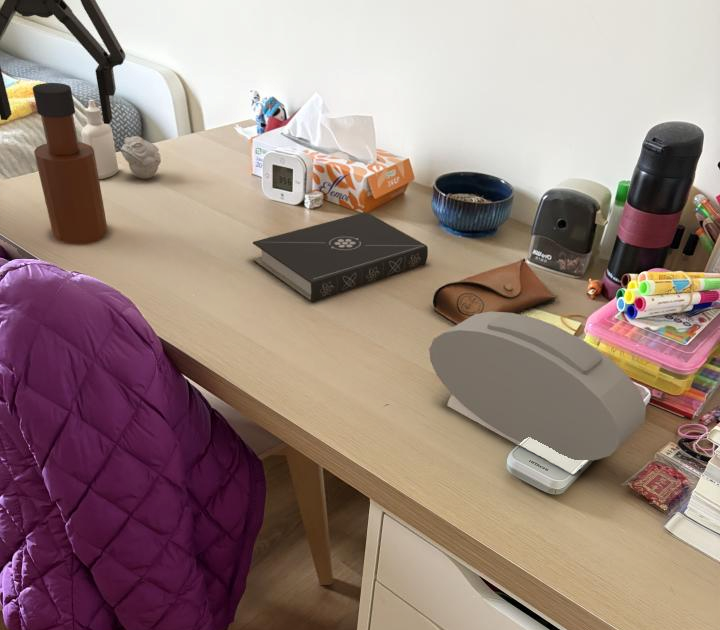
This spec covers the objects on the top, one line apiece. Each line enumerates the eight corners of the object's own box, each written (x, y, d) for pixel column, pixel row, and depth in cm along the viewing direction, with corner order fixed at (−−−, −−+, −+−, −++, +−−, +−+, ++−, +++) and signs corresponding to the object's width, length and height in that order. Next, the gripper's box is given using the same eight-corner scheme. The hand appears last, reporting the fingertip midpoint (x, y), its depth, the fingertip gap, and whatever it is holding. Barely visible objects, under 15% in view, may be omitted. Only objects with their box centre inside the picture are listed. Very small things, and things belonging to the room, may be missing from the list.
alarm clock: (625, 466, 77) (668, 366, 68) (598, 494, 73) (640, 392, 64) (452, 375, 87) (471, 278, 79) (421, 395, 84) (437, 296, 75)
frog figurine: (116, 177, 125) (110, 135, 121) (149, 168, 130) (144, 127, 125) (138, 187, 123) (132, 145, 118) (171, 178, 127) (166, 136, 122)
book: (312, 303, 98) (313, 283, 96) (252, 261, 106) (252, 241, 104) (427, 265, 109) (429, 246, 107) (365, 229, 117) (366, 211, 115)
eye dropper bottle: (123, 176, 126) (112, 102, 118) (92, 181, 123) (78, 105, 115) (115, 168, 129) (103, 95, 120) (83, 172, 126) (69, 98, 118)
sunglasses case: (475, 332, 94) (464, 281, 92) (439, 335, 100) (428, 288, 98) (561, 297, 103) (552, 250, 101) (524, 302, 109) (515, 257, 107)
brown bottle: (48, 243, 105) (19, 119, 94) (58, 221, 111) (32, 102, 99) (103, 244, 106) (81, 122, 95) (110, 222, 112) (90, 104, 100)
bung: (38, 136, 97) (28, 92, 93) (45, 125, 100) (36, 81, 96) (75, 138, 97) (67, 93, 94) (81, 126, 101) (73, 83, 97)
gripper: (131, -74, 88) (153, 114, 102) (-85, -90, 84) (-31, 106, 99) (123, -67, 82) (148, 131, 97) (-108, -83, 79) (-47, 124, 93)
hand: (57, 119), depth 98 cm, fingers open, 13 cm apart
